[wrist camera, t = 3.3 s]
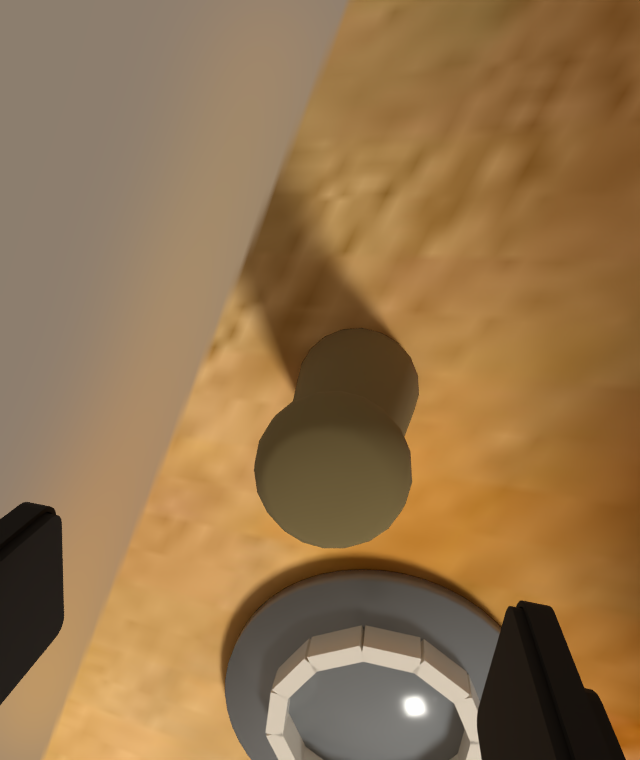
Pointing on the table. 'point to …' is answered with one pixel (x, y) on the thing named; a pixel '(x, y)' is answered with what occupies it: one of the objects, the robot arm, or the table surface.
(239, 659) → the round tray
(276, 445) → the cork
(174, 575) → the table surface
